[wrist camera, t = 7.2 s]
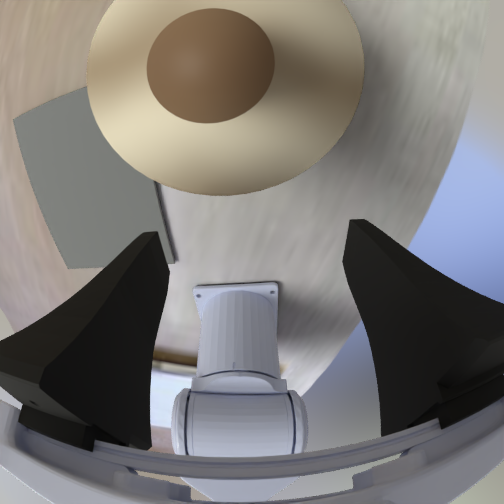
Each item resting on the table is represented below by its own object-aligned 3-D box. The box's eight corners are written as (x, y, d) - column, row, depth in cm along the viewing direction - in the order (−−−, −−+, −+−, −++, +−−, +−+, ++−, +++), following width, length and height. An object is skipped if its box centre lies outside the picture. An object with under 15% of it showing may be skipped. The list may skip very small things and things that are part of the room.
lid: (346, 185, 12) (384, 240, 8) (118, 197, 12) (79, 253, 8) (353, -36, 5) (403, -68, 2) (91, -15, 5) (31, -31, 2)
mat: (175, 260, 24) (174, 263, 24) (69, 266, 24) (68, 268, 24) (136, 71, 14) (134, 72, 14) (15, 118, 14) (13, 119, 14)
